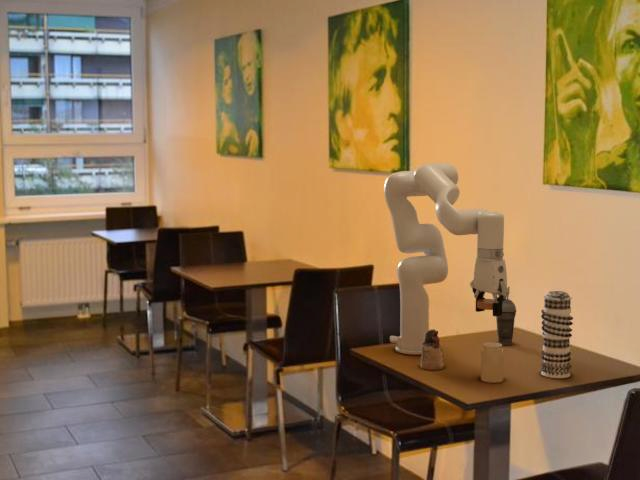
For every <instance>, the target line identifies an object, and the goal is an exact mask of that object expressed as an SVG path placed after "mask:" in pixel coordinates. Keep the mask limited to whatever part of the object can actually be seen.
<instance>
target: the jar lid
mask: <svg viewBox="0 0 640 480" xmlns="http://www.w3.org/2000/svg"><path fill="white" fill-rule="evenodd" d="M493 303H495V302H494V298H485V299H479V300H477V307H478V308H480V309H485V311H493Z"/></svg>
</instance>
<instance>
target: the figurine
mask: <svg viewBox="0 0 640 480" xmlns="http://www.w3.org/2000/svg"><path fill="white" fill-rule="evenodd" d="M425 335H426V336H425V341H424V343H423V345H424V346H423V348H422V354H421V358H420V364H419V365H420V368H421V369H423V370H427V371H428V370H429V371H439V370H443V369H444V367H445V362H444V361H445V360H444V354H443V353H444V352H443V349H442V346H441V344H440V337H439V336H438V335H439V331H438V330H436V329H435V328H431V329H429V331H428V332H427V333H426V334H425Z"/></svg>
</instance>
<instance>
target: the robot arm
mask: <svg viewBox="0 0 640 480" xmlns="http://www.w3.org/2000/svg"><path fill="white" fill-rule="evenodd" d="M458 181H459V172H458V170H457V169H456V167H455V166H454V165H452V164H451V163H448V162H437V163H435V162H433V163H432V162H431V163H424V164H421V165H419V166H418V167H417V168H416V169H415V170H403V171H401V170H400V171H396V172H393V173H391V174H390V175H388V176H387V178H386V179H385V181H384V186H383V195H384V200H385V202H386V203H385V204H386V205H387V208H388V210H389V212H390V218H391V223H392V228H393V232H394V238H395V243H396V246H397V249H398V251H399V252H400V253H402V254H403V253H404V254H418V253H424V255H416V256H409V257H405V258H403V259H402V260H401V261H400V262H399V263H398V265H397V270H396V272H397V279H398V284H399V299H400V301H399V304H400V305H399V306H400V307H399V308H400V309H399V311H400V312H399V314H400V319H399V321H400V322H399V323H400V326H399V333H400V335H399V336H396V335H390V336H389V342H390V343H392V344H397V345H396V346H395V351H396V352H397V353H400V354H404V355H414V356H417V355H418V356H422V348H423V346H424V345H423V343H424V341H425V336H426V335H425V334H426V333H427V332H428V331H429V330H430V297H429V294H428V293H427V291H426V289H425V287H424V286H425V285H432V284H440V283H442V282H444V281H445V280H446V279H447V277H448V274H449V265H448V259H447V254H446V250H445V245H444V238H443V236H442V233H441V231H440V229H439V227H438V226H436V225H435V224H433V223H420V221H419V219H418V213H417V210H416V208H415V206H414V205H413V203H412V202H411V201H410V200H408V197H409V198H410V197H426V196H427V197H429V198H430V200H432V201H433V203H435V207H434V208H435V214H436V218H437V220H438V222H439V223H440V224H441V226H443V227H444V229H445V230H446V231H447V232H449V233H451V234H452V235H455V236H468V235H469V236H470V235H477V240H476V242H477V244H476V245H477V249H476V258H475V263H474V270H473V280H472V281H471V282H470V283H469V286H470V288H471V289H472V293H473V295H474V296H473V298H475V312H476V313H479V312H485V311H486V310H485V309H480V308H478V307H477V300H479V299H486V298H485V294H486V293H488V294H491V295H492V299H494V302H495V303H493V310H492V317H496V316H501V315H502V302H504V300H505V299H507V296H508V294H509V295H510V289H509V290H508V274H507V265H506V260H505V259H504V256H505V253H504V239H505V238H504V237H505V236H504V234H505V216H504V214H503V213H502V212H499V211H490V210H488V209H484V208H472V209H471V208H470V209H457V208H455V206H453V205H455V204H456V202H457V201H458V199H459V197H460V189H459V188H460V187H459V186H458V185H457V184H458Z"/></svg>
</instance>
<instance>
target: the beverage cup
mask: <svg viewBox="0 0 640 480" xmlns="http://www.w3.org/2000/svg"><path fill="white" fill-rule="evenodd" d="M507 288H508V290H509V291H510V289H511V287H510V286H507ZM509 296H510V293H509V294H508V296H506V299H505V300H504V302H502V315H501V316H495V319H496V332H497V334H496V335H497V343H500V344H502V346H511V345H512V344H513V337H514V329H515V318H516V315H517V307H516V304H515V303H514V301H513V300H511V299H509V298H510V297H509Z"/></svg>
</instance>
